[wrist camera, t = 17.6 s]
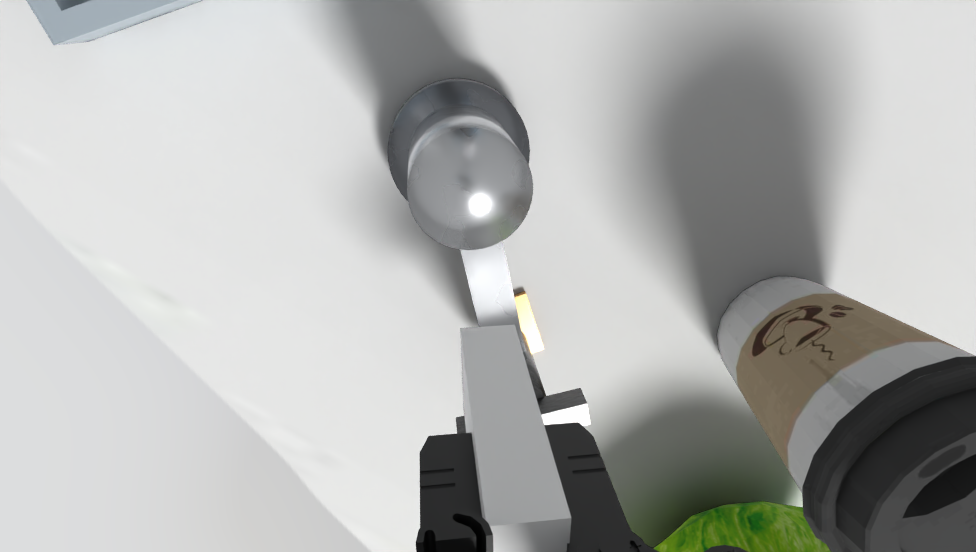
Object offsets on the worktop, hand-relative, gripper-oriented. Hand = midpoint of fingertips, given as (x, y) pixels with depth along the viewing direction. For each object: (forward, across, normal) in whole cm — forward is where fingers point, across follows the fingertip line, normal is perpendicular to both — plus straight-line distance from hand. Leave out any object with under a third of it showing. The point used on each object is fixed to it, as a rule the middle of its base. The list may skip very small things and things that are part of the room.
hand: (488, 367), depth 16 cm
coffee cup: (+16, +20, -10) cm, 27 cm away
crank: (+15, +1, -3) cm, 15 cm away
